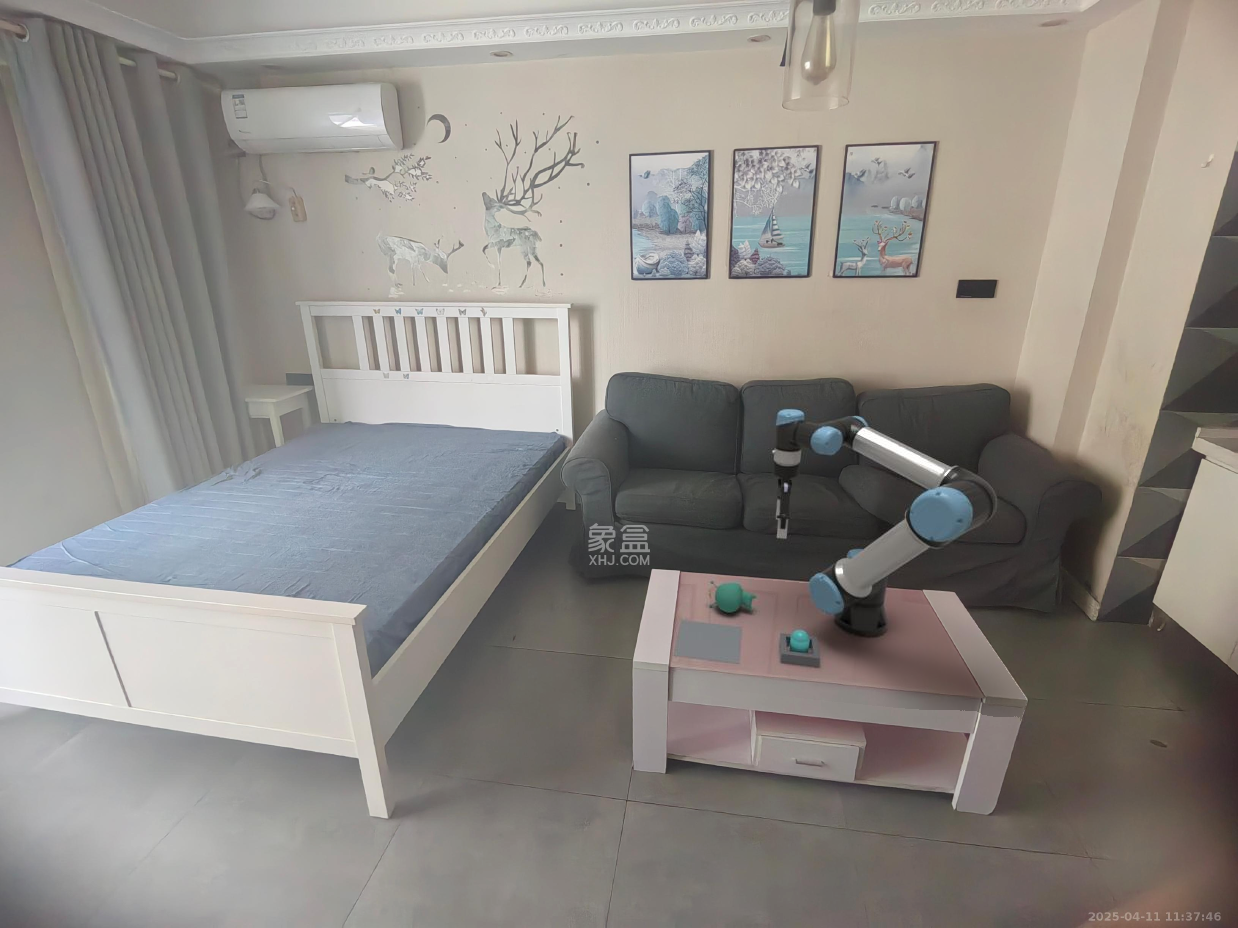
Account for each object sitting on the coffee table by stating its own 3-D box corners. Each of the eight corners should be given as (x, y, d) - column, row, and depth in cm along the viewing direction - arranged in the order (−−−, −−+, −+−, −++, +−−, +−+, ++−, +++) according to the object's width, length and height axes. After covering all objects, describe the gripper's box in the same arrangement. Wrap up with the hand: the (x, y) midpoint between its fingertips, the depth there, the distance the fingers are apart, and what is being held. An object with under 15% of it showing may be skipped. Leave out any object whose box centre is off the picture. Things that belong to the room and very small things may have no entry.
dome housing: (815, 645, 175) (816, 636, 174) (818, 667, 165) (819, 658, 164) (779, 641, 177) (780, 632, 176) (780, 663, 167) (781, 653, 166)
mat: (741, 627, 184) (741, 626, 183) (739, 664, 167) (739, 663, 167) (681, 620, 187) (681, 619, 187) (673, 656, 171) (673, 655, 170)
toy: (759, 588, 195) (713, 574, 199) (757, 587, 185) (709, 573, 190) (751, 619, 193) (705, 604, 198) (749, 620, 184) (701, 605, 189)
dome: (807, 648, 173) (809, 627, 170) (808, 659, 168) (811, 637, 166) (789, 646, 174) (791, 625, 171) (789, 656, 169) (791, 635, 167)
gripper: (772, 449, 192) (767, 511, 199) (774, 475, 169) (768, 544, 176) (797, 450, 191) (791, 513, 198) (802, 477, 168) (795, 547, 174)
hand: (780, 528), depth 187 cm, fingers open, 13 cm apart
